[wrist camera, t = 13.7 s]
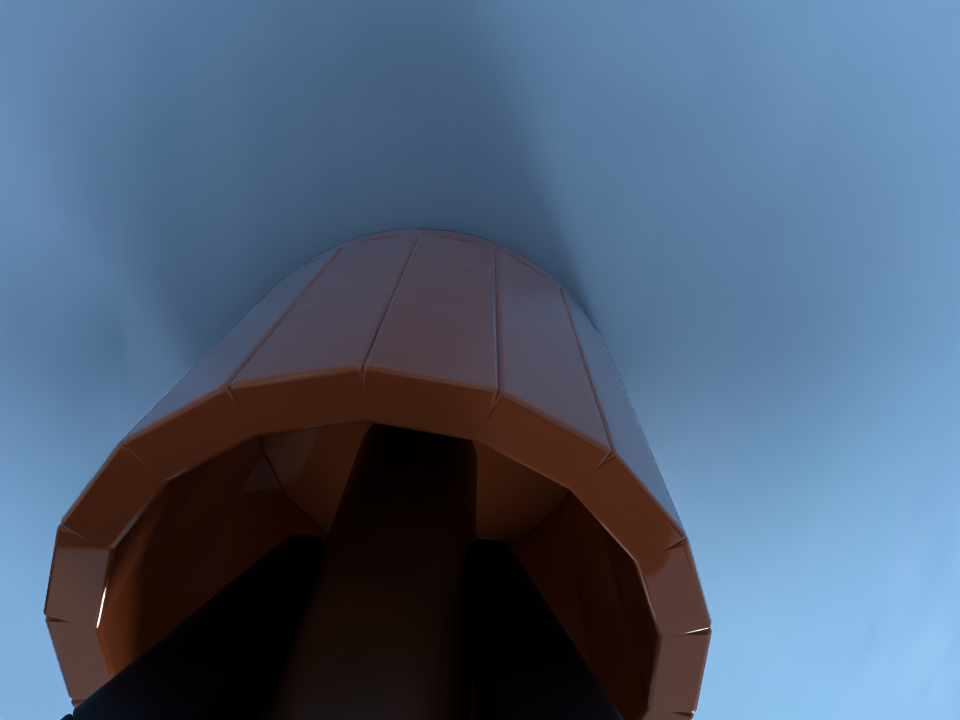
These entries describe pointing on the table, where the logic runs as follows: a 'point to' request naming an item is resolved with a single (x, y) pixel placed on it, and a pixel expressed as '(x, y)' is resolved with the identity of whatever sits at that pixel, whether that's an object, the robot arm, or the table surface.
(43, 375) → the table surface
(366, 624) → the walnut stick
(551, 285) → the terracotta cup
